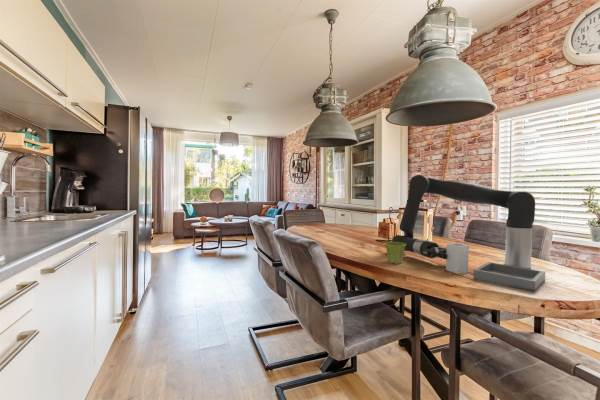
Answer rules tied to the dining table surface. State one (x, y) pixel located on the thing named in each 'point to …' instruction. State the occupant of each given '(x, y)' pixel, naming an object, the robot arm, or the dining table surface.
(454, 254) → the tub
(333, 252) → the dining table surface
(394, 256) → the plant pot
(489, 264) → the tray
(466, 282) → the dining table surface
